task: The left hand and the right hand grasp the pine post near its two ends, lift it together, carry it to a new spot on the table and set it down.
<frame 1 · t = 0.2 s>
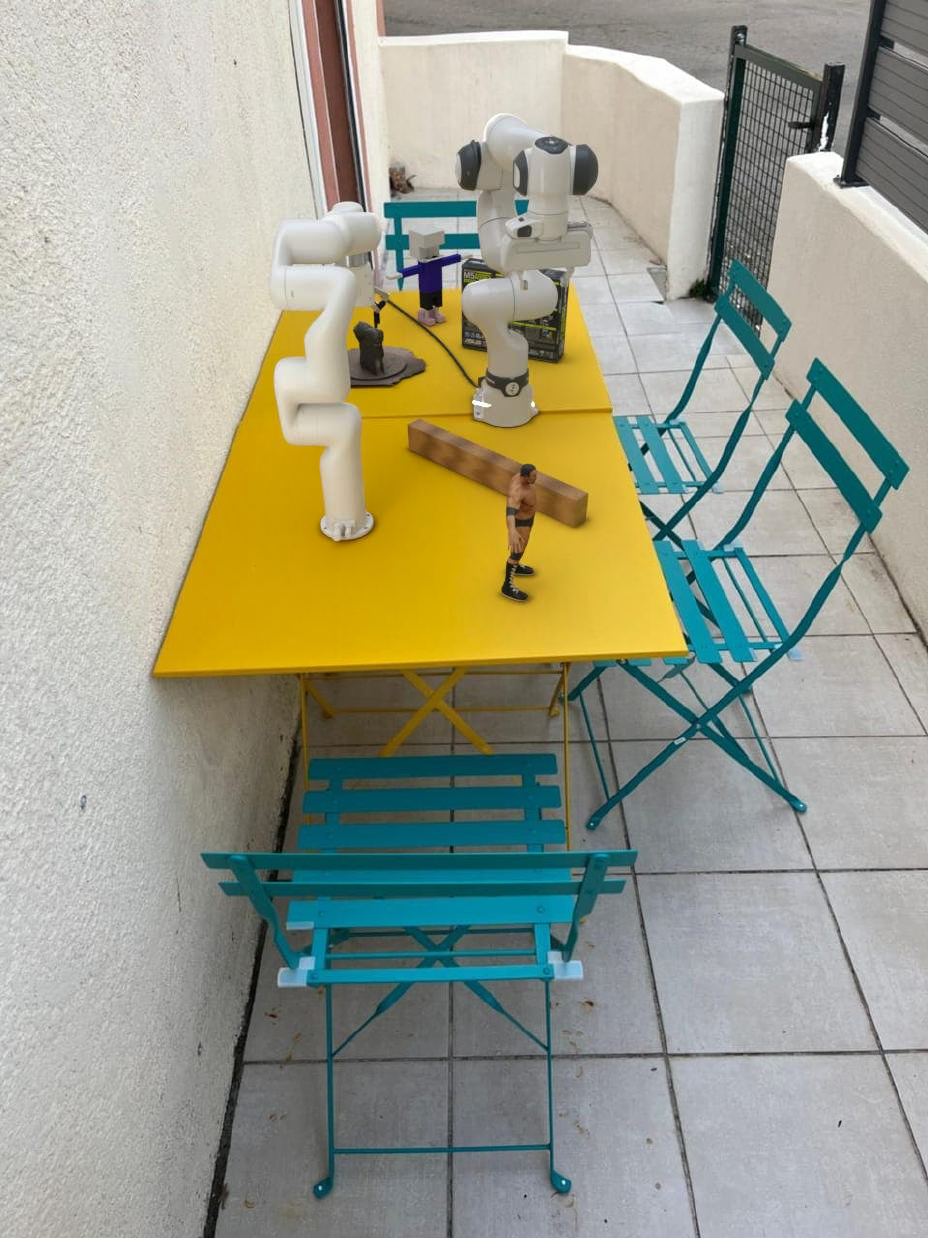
left hand: (357, 326, 226), 31 cm above the table, tool pointing down, fingers open, 9 cm apart
right hand: (544, 287, 200), 47 cm above the table, tool pointing down, fingers open, 8 cm apart
post: (492, 482, 226), on the table
toy: (430, 321, 308), on the table
box: (512, 351, 288), on the table
sculpture: (369, 368, 279), on the table
figurine: (518, 584, 194), on the table
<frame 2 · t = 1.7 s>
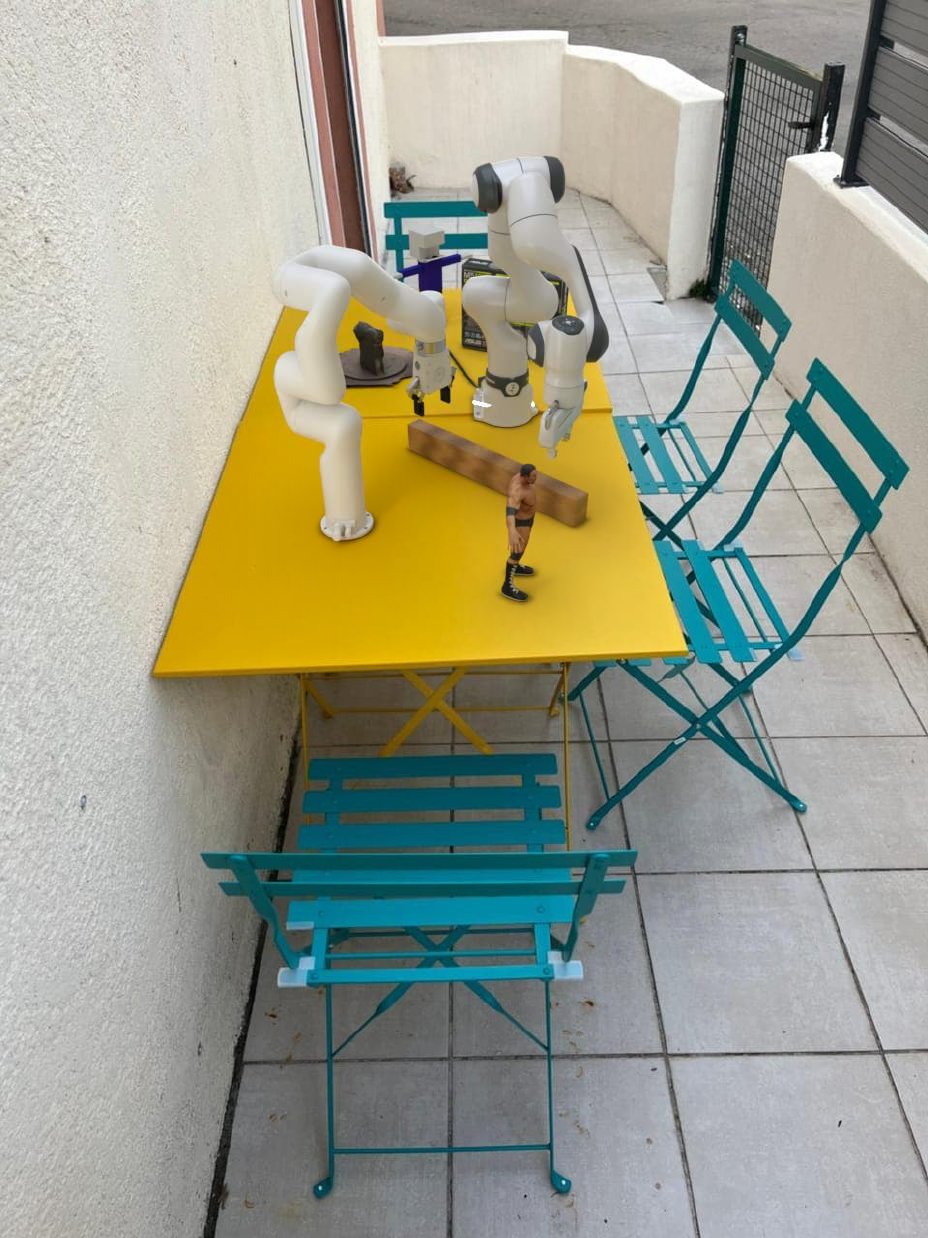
left hand: (432, 408, 228), 14 cm above the table, tool pointing down, fingers open, 9 cm apart
right hand: (558, 448, 205), 17 cm above the table, tool pointing down, fingers open, 8 cm apart
nothing on the table moved.
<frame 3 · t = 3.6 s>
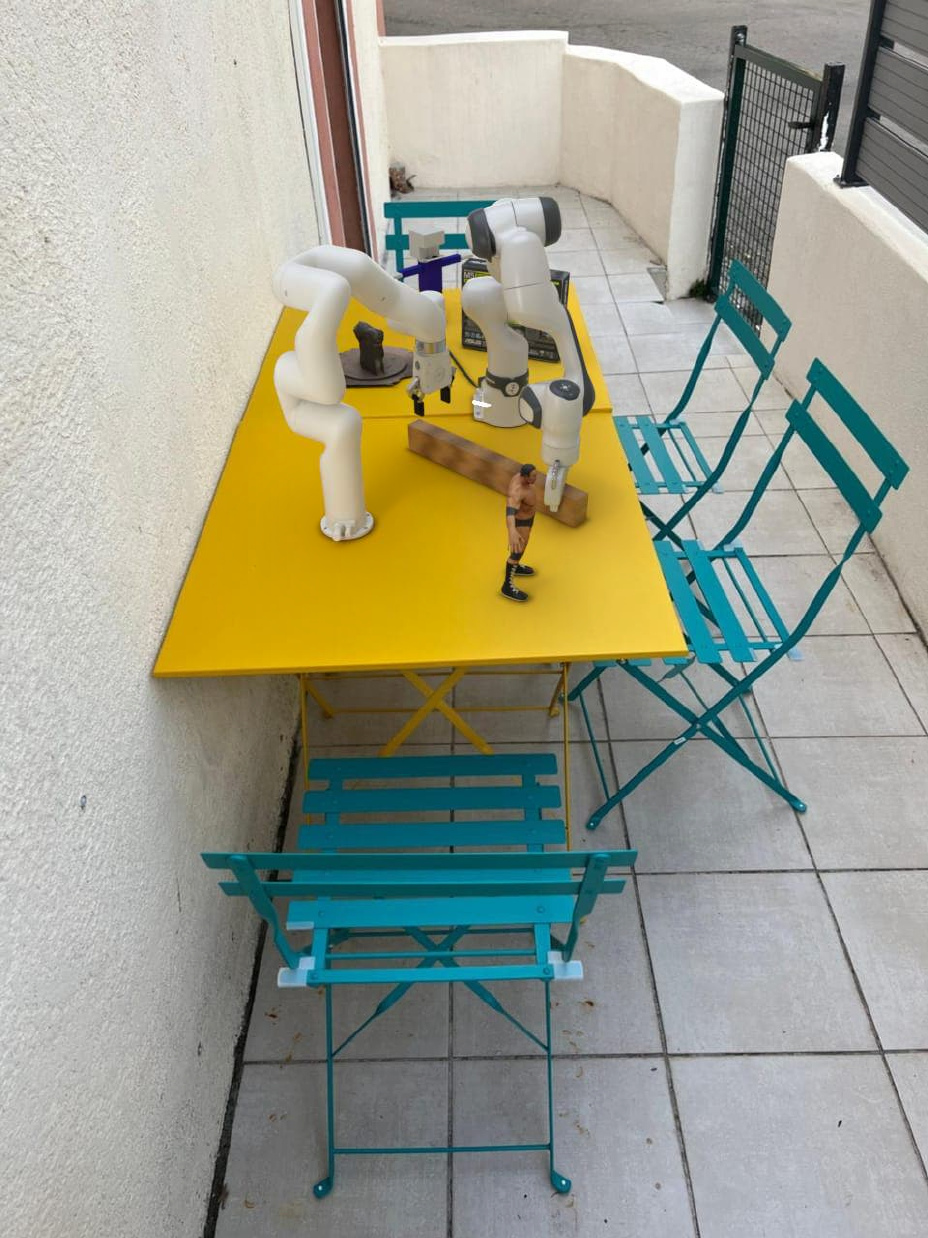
left hand: (432, 408, 228), 14 cm above the table, tool pointing down, fingers open, 9 cm apart
right hand: (556, 501, 214), 3 cm above the table, tool pointing down, fingers closed on post, 6 cm apart
post: (492, 482, 226), on the table, touching right hand
everything else where it was.
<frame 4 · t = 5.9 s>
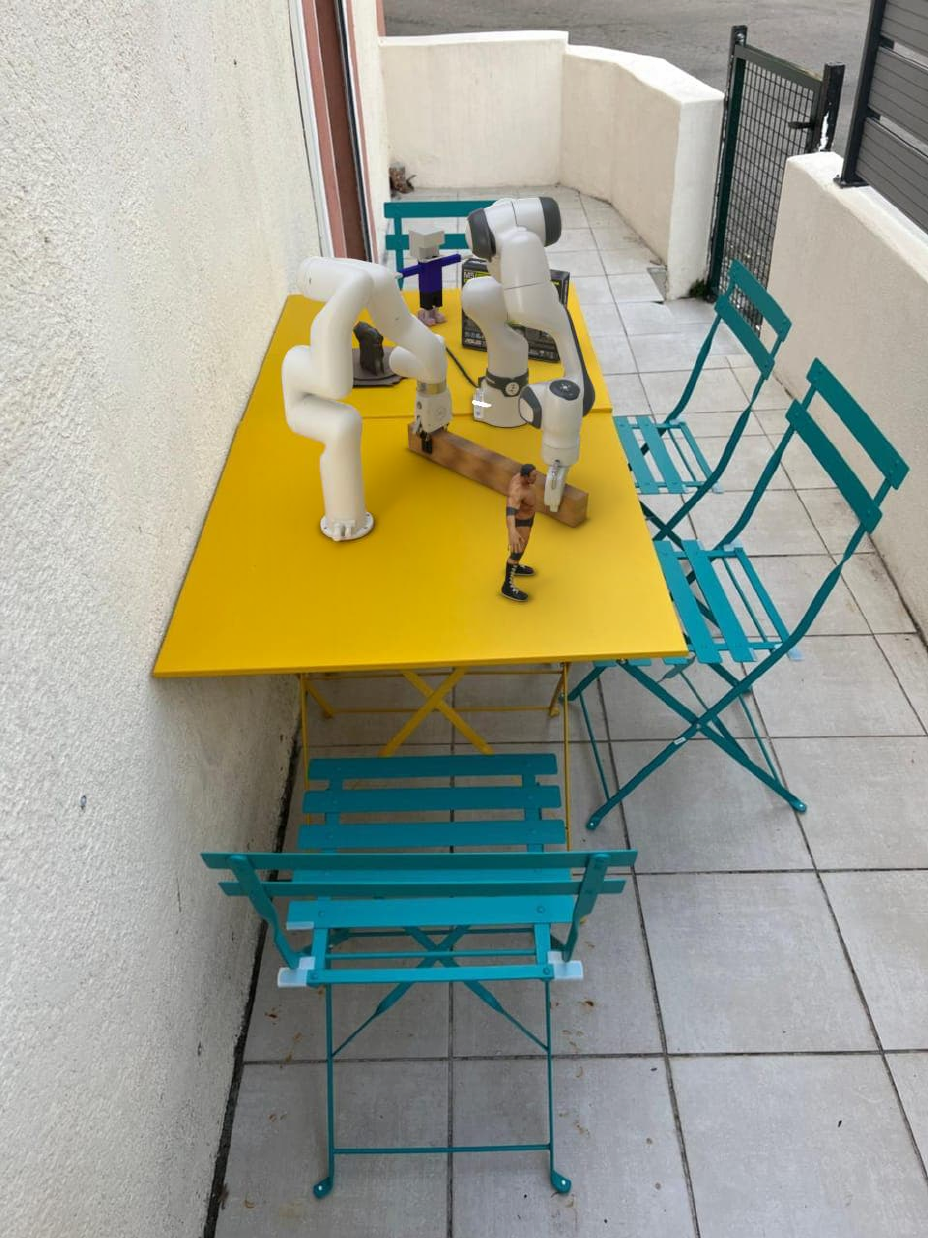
left hand: (434, 447, 235), 2 cm above the table, tool pointing down, fingers closed on post, 4 cm apart
right hand: (556, 501, 214), 3 cm above the table, tool pointing down, fingers closed on post, 6 cm apart
post: (492, 482, 226), on the table, touching left hand, right hand
everything else where it was.
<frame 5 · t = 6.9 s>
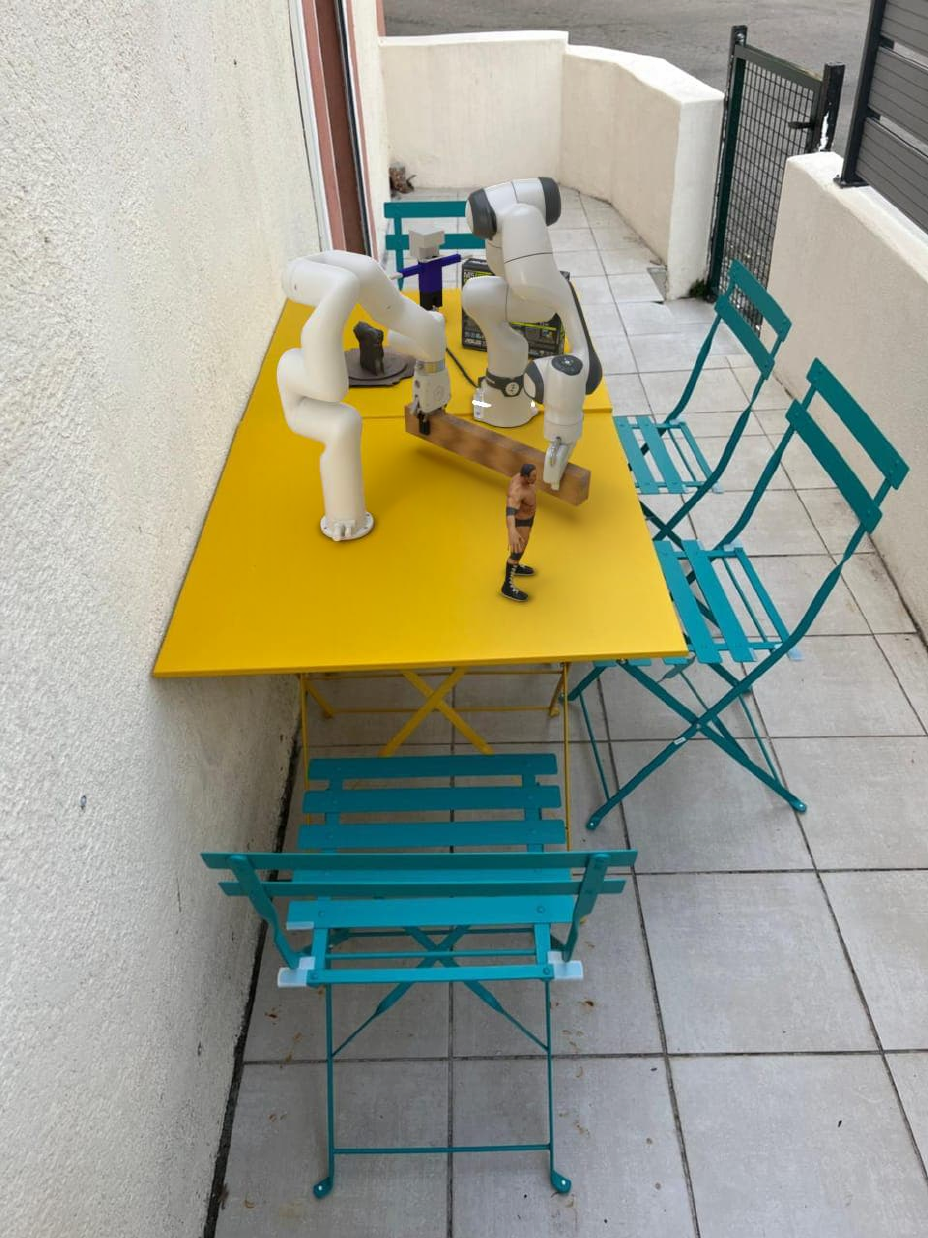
left hand: (431, 429, 231), 8 cm above the table, tool pointing down, fingers closed on post, 4 cm apart
right hand: (559, 480, 210), 9 cm above the table, tool pointing down, fingers closed on post, 6 cm apart
post: (491, 463, 223), point 6 cm above the table, touching left hand, right hand
everything else where it was.
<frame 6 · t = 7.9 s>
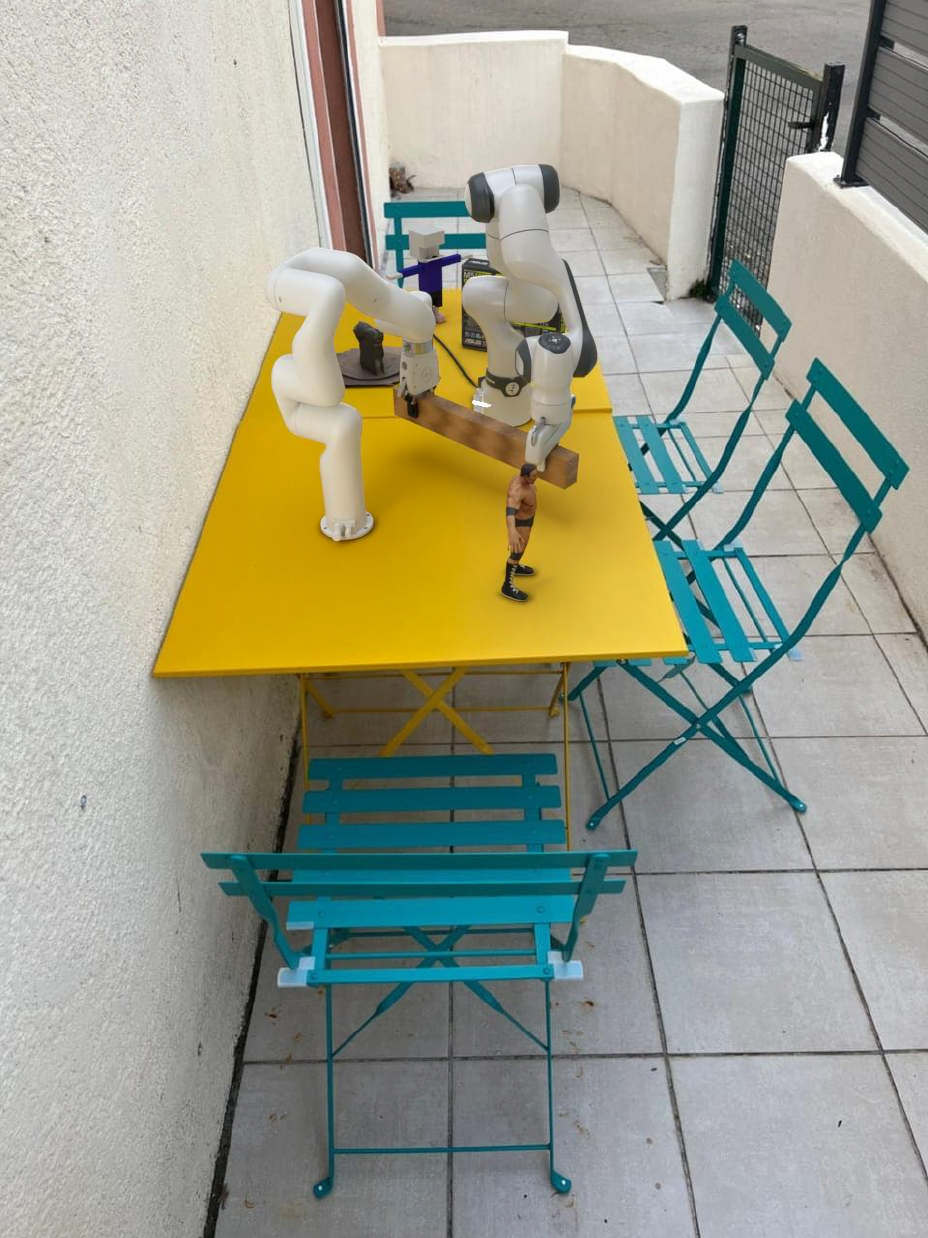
left hand: (420, 412, 228), 13 cm above the table, tool pointing down, fingers closed on post, 4 cm apart
right hand: (546, 462, 206), 14 cm above the table, tool pointing down, fingers closed on post, 5 cm apart
post: (480, 446, 219), point 11 cm above the table, touching left hand, right hand
everything else where it was.
when the left hand's fingers open (3 cm above the table, at t = 10.4 s): post stays where it is, on the table.
when the right hand's fingers open (4 cm above the table, at t = 10.5 s): post stays where it is, on the table.
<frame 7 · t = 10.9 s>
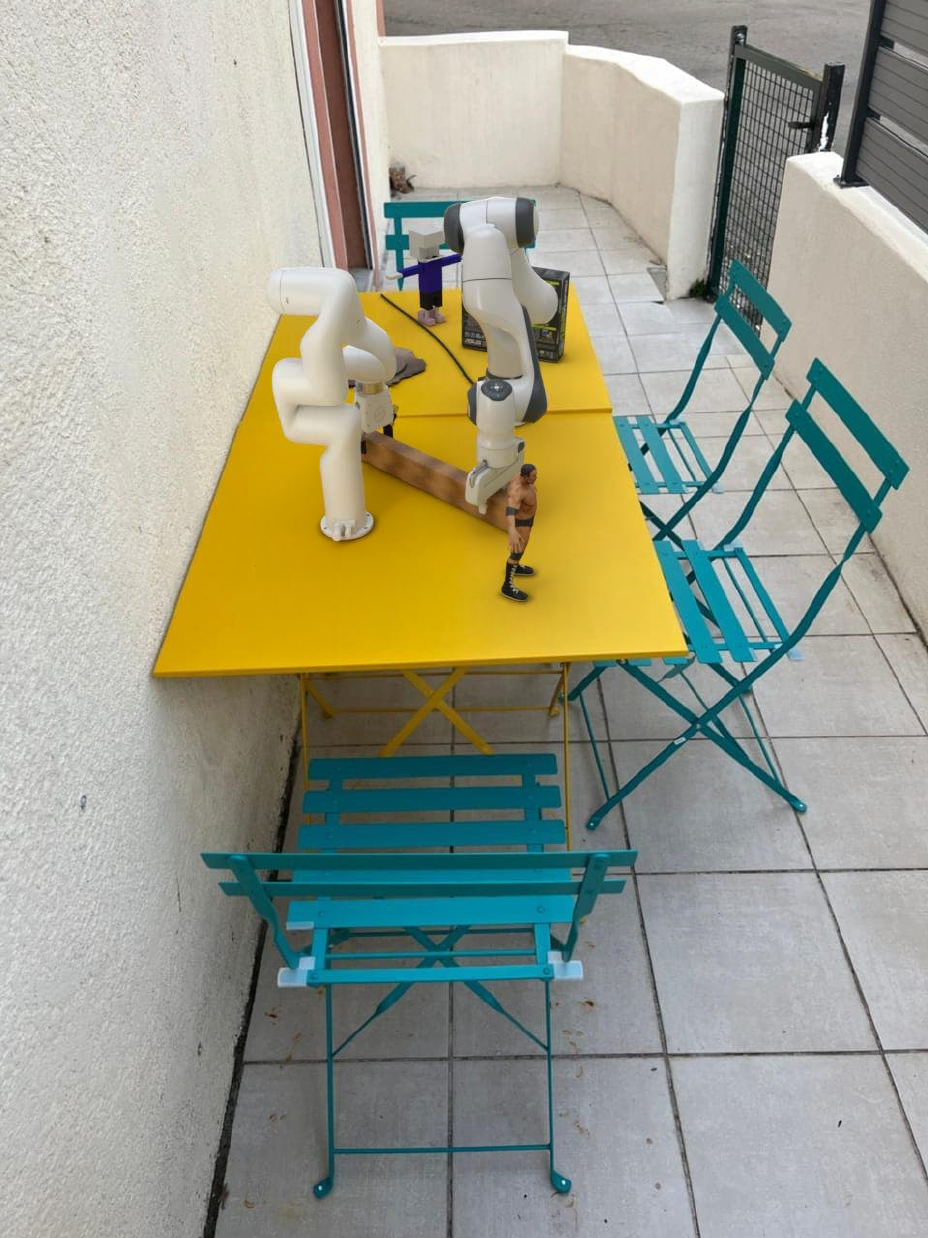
left hand: (375, 445, 232), 4 cm above the table, tool pointing down, fingers open, 9 cm apart
right hand: (494, 503, 211), 4 cm above the table, tool pointing down, fingers open, 8 cm apart
post: (432, 488, 224), on the table
everything else where it was.
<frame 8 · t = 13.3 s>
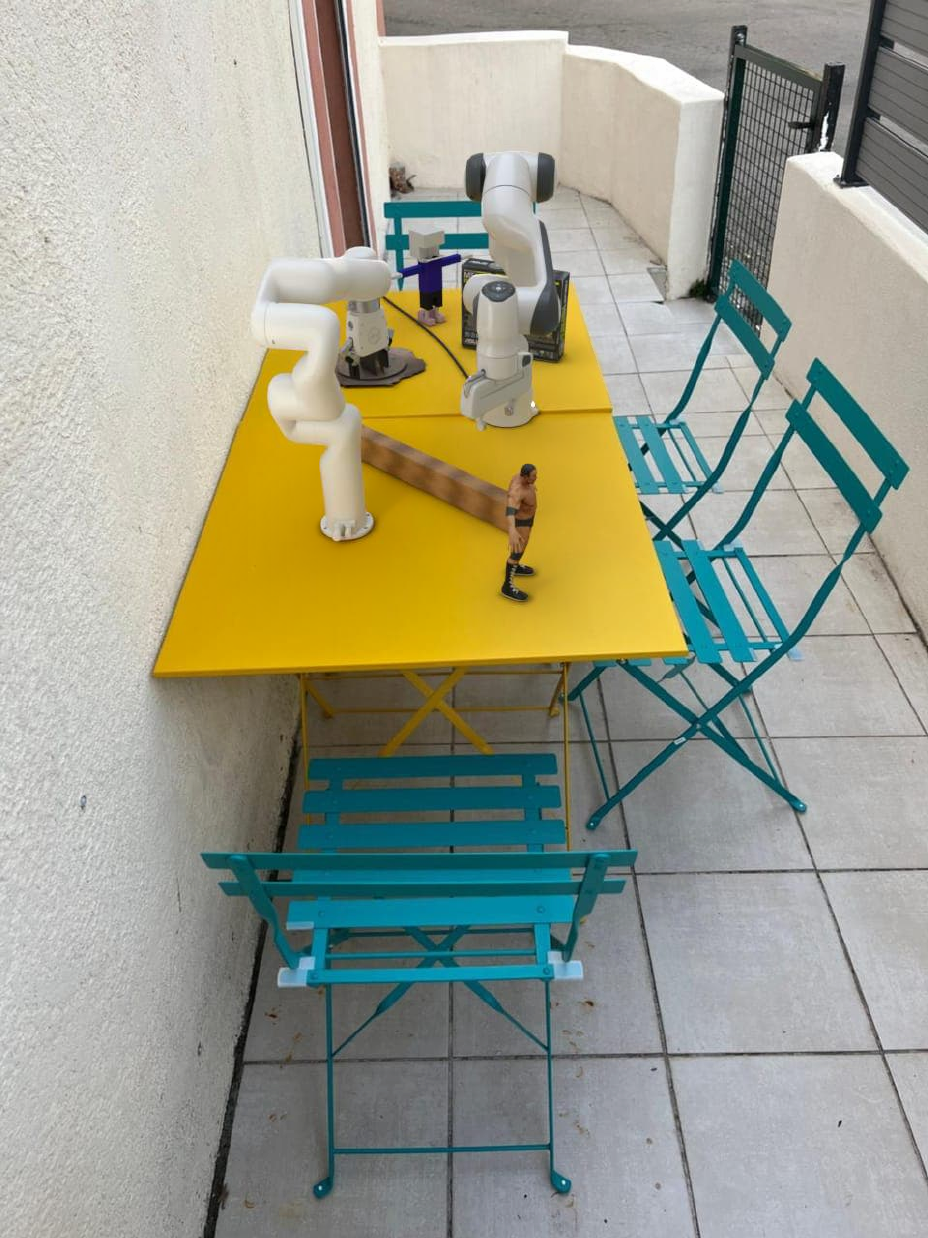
left hand: (369, 372, 219), 25 cm above the table, tool pointing down, fingers open, 9 cm apart
right hand: (495, 421, 197), 26 cm above the table, tool pointing down, fingers open, 8 cm apart
nothing on the table moved.
at the end: post inside the target area (0.0 cm from its centre), on the table; post tilted 0°; post never tilted more than 2° during the clip; both hands held the post at the same time; the left hand is holding nothing; the right hand is holding nothing; post at rest at the end (0.0 cm/s) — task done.
